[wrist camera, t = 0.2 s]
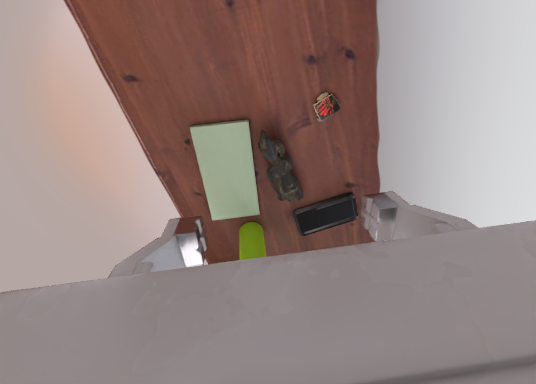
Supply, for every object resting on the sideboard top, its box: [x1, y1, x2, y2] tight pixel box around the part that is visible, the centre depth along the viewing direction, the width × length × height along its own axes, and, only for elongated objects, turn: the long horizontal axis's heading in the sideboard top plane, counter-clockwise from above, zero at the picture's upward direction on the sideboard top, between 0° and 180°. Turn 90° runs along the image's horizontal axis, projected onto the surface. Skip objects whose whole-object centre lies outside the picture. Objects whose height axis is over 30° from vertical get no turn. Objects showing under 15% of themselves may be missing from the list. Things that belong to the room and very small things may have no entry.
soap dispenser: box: [239, 222, 266, 260], centre depth 55 cm, size 6×7×20 cm
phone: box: [293, 193, 358, 236], centre depth 62 cm, size 8×1×15 cm
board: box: [190, 120, 260, 220], centre depth 54 cm, size 22×11×1 cm, turn 4°
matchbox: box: [313, 92, 340, 123], centre depth 49 cm, size 5×5×1 cm
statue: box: [258, 130, 303, 202], centre depth 52 cm, size 6×6×20 cm
